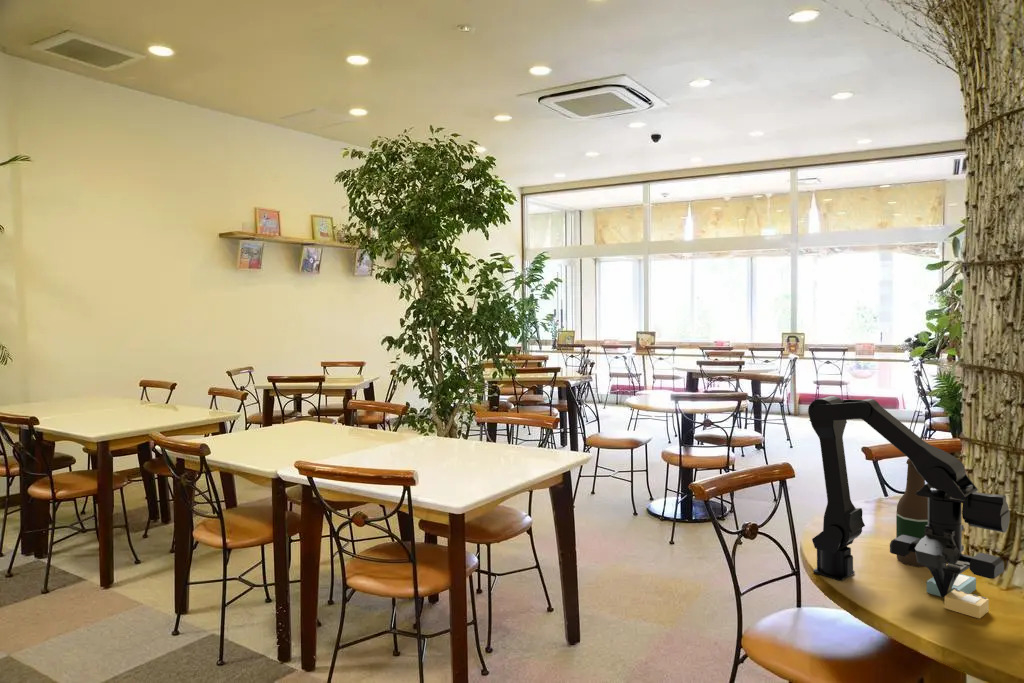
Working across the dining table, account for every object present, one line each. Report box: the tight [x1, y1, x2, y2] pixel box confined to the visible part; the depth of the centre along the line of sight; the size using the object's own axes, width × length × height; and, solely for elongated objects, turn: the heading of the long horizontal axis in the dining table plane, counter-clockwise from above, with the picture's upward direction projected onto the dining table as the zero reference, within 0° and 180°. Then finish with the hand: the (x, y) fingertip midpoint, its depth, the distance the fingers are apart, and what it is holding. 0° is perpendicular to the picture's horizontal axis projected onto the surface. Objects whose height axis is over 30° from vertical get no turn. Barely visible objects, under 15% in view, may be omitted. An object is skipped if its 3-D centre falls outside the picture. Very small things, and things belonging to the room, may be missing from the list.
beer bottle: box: [895, 458, 928, 568], centre depth 159 cm, size 8×8×24 cm
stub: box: [944, 590, 990, 619], centre depth 135 cm, size 6×5×2 cm
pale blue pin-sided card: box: [926, 573, 977, 598], centre depth 144 cm, size 6×9×2 cm, turn 128°
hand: (944, 597), depth 138 cm, fingers closed
